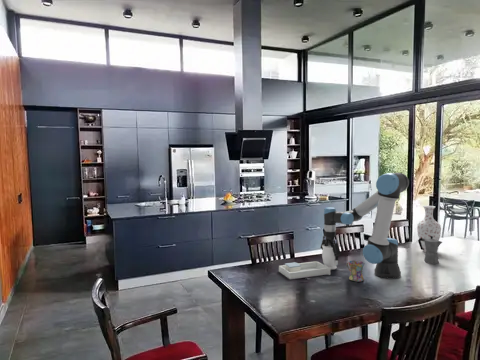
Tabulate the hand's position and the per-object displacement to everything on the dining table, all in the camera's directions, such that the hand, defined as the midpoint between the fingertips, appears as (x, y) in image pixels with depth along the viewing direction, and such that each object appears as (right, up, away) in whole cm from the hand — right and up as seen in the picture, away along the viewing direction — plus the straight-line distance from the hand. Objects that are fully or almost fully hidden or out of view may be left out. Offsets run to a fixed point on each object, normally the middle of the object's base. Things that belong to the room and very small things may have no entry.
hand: (330, 262), depth 231 cm
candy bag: (+9, -5, -23) cm, 25 cm away
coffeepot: (+72, -2, +10) cm, 73 cm away
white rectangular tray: (-19, -5, -11) cm, 23 cm away
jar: (0, -4, 0) cm, 4 cm away
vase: (+86, 0, +37) cm, 94 cm away
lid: (-27, +1, -14) cm, 31 cm away
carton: (-27, -4, -14) cm, 31 cm away
